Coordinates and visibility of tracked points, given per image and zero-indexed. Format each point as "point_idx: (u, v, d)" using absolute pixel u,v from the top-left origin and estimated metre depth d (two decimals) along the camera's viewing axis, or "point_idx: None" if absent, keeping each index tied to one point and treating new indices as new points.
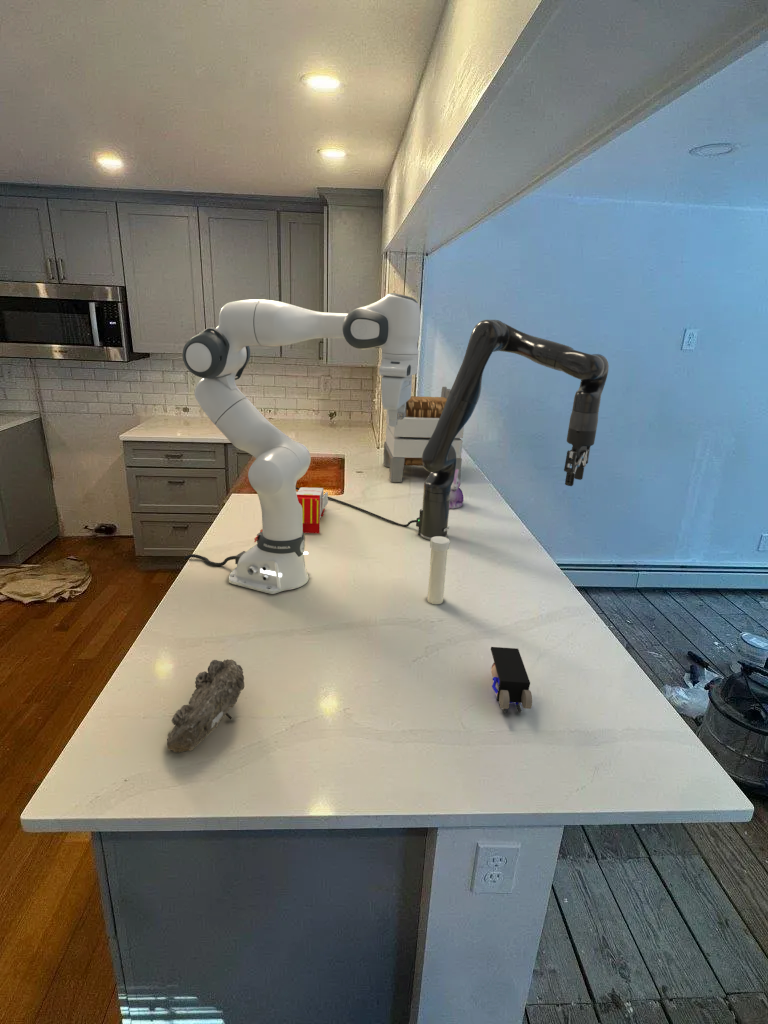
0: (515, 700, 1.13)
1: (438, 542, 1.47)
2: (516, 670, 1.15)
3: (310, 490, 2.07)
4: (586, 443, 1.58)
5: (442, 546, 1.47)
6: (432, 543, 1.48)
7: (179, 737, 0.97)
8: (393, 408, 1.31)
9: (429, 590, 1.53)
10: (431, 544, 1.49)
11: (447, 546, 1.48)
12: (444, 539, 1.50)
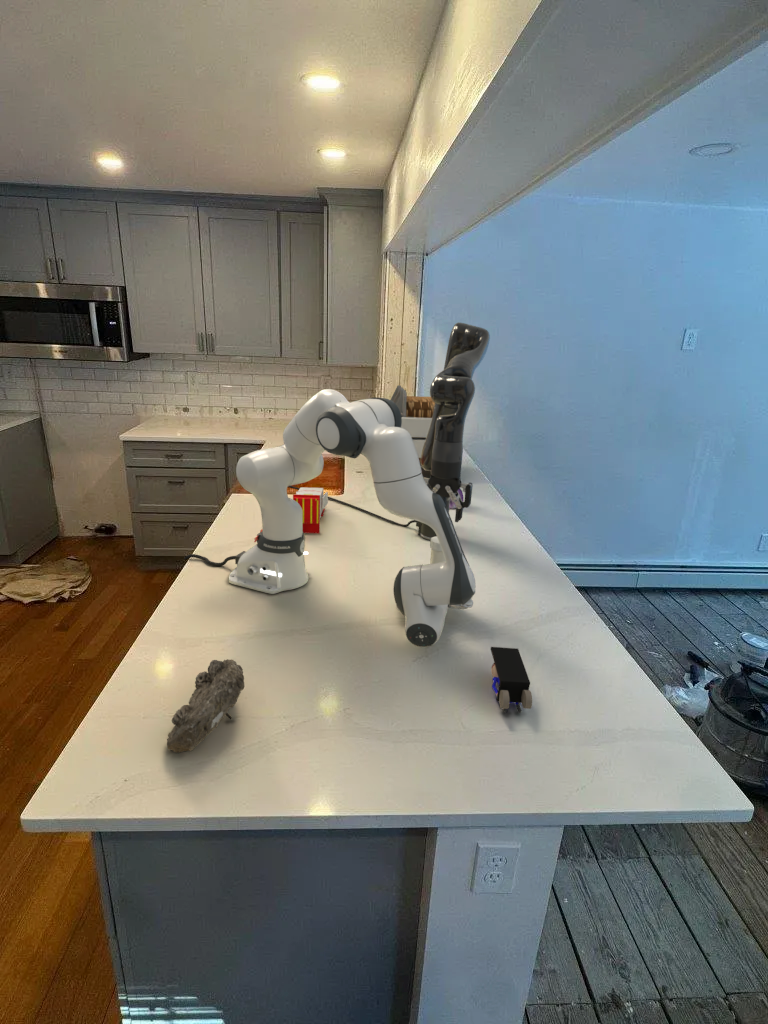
0: (515, 700, 1.13)
1: (438, 542, 1.47)
2: (516, 670, 1.15)
3: (310, 490, 2.07)
4: (432, 473, 1.41)
5: None
6: (432, 543, 1.48)
7: (179, 737, 0.97)
8: None
9: None
10: (431, 544, 1.49)
11: None
12: None
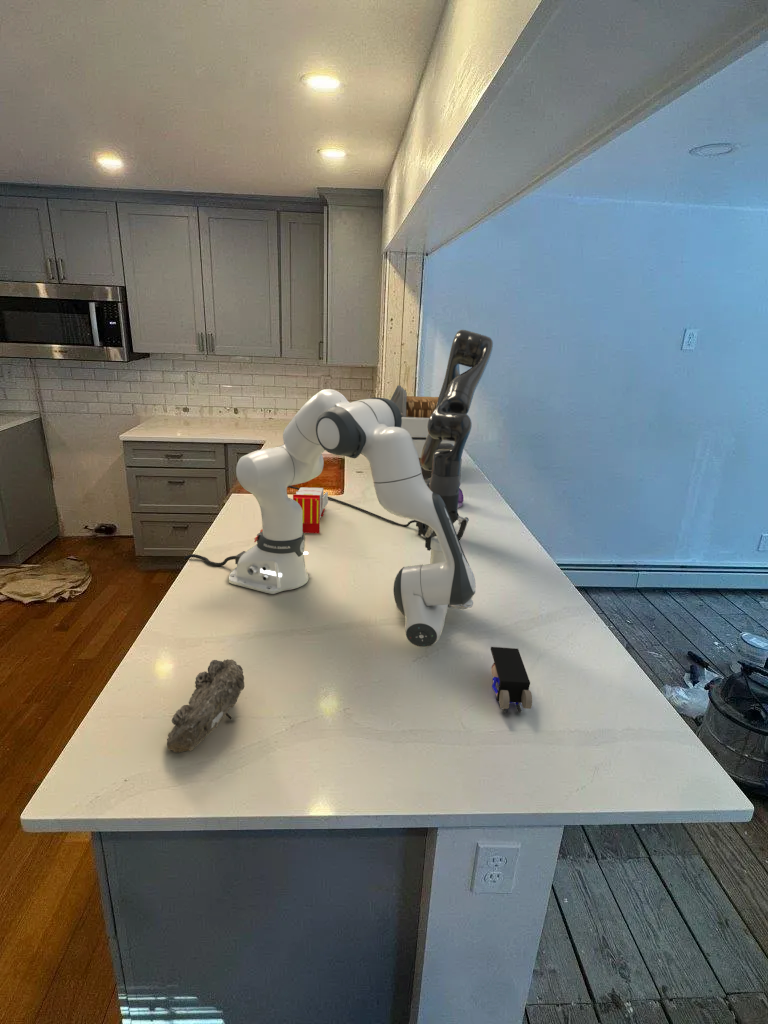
0: (515, 700, 1.13)
1: (438, 542, 1.47)
2: (516, 670, 1.15)
3: (310, 490, 2.07)
4: None
5: None
6: (432, 543, 1.48)
7: (179, 737, 0.97)
8: None
9: None
10: (431, 544, 1.49)
11: None
12: None
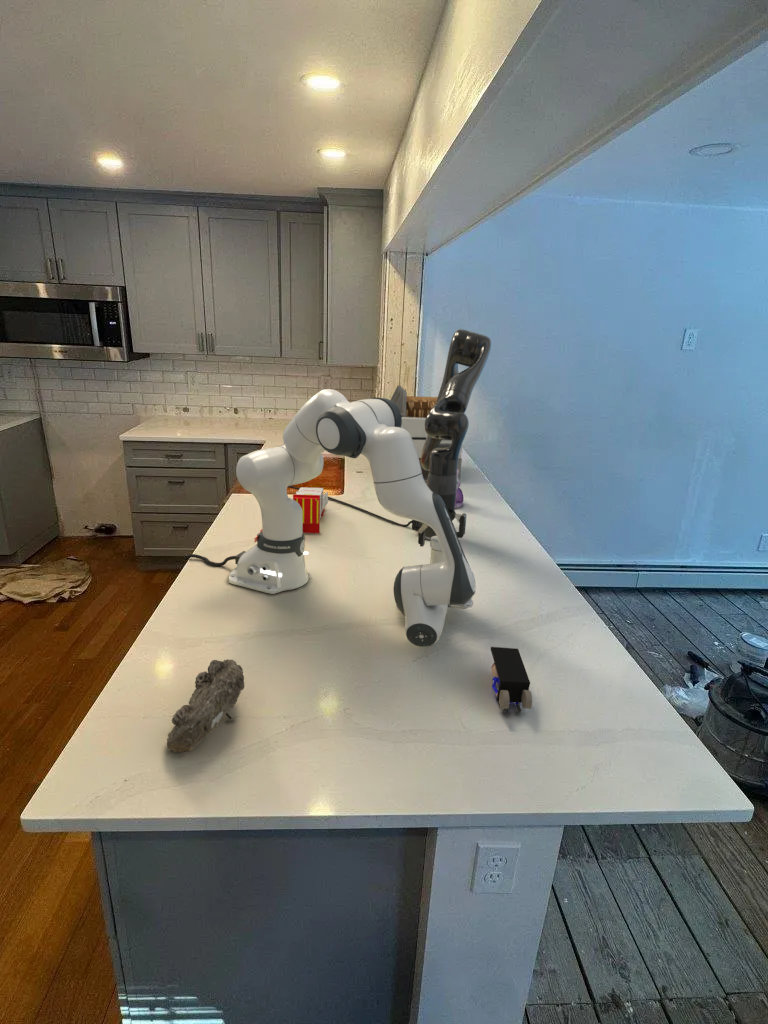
0: (515, 700, 1.13)
1: None
2: (516, 670, 1.15)
3: (310, 490, 2.07)
4: None
5: None
6: None
7: (179, 737, 0.97)
8: None
9: None
10: None
11: None
12: None
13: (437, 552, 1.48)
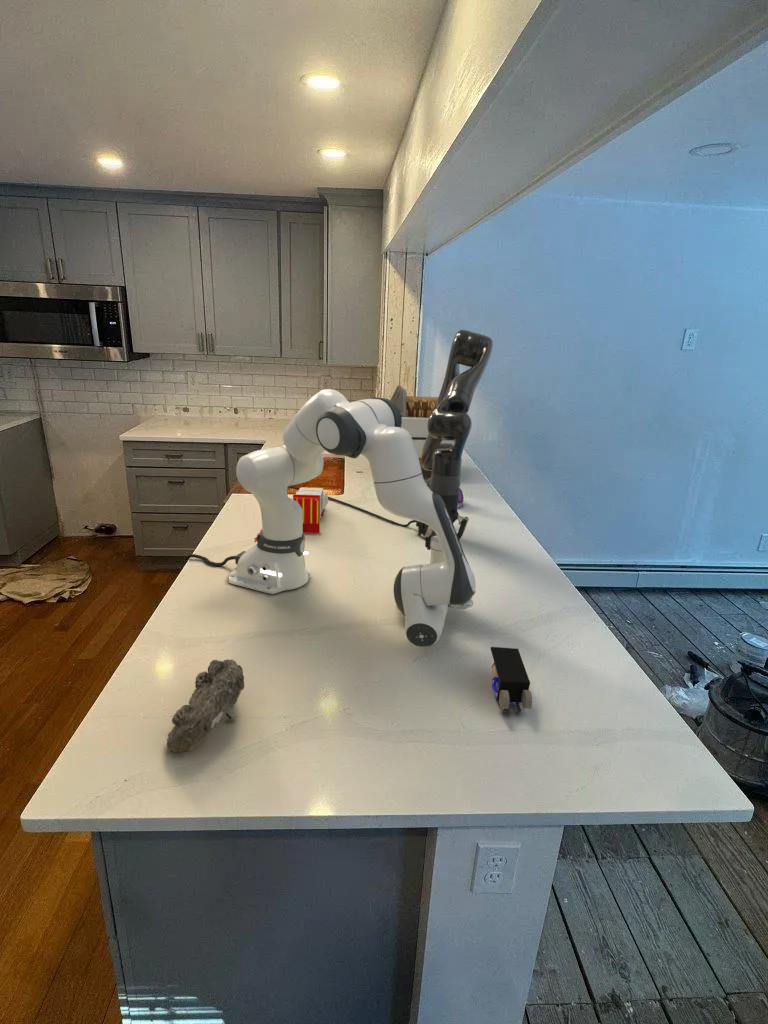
0: (515, 700, 1.13)
1: None
2: (516, 670, 1.15)
3: (310, 490, 2.07)
4: None
5: None
6: None
7: (179, 737, 0.97)
8: None
9: None
10: None
11: None
12: None
13: (437, 552, 1.48)
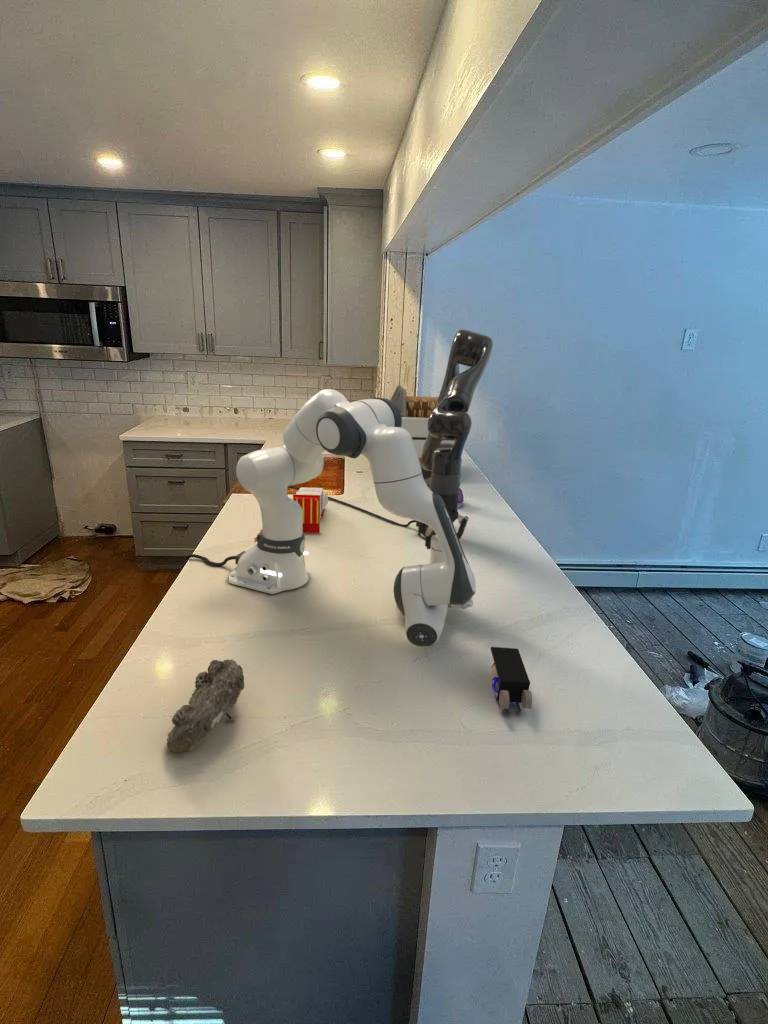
0: (515, 700, 1.13)
1: None
2: (516, 670, 1.15)
3: (310, 490, 2.07)
4: None
5: None
6: None
7: (179, 737, 0.97)
8: None
9: None
10: None
11: (430, 541, 1.50)
12: (437, 539, 1.48)
13: (437, 552, 1.48)
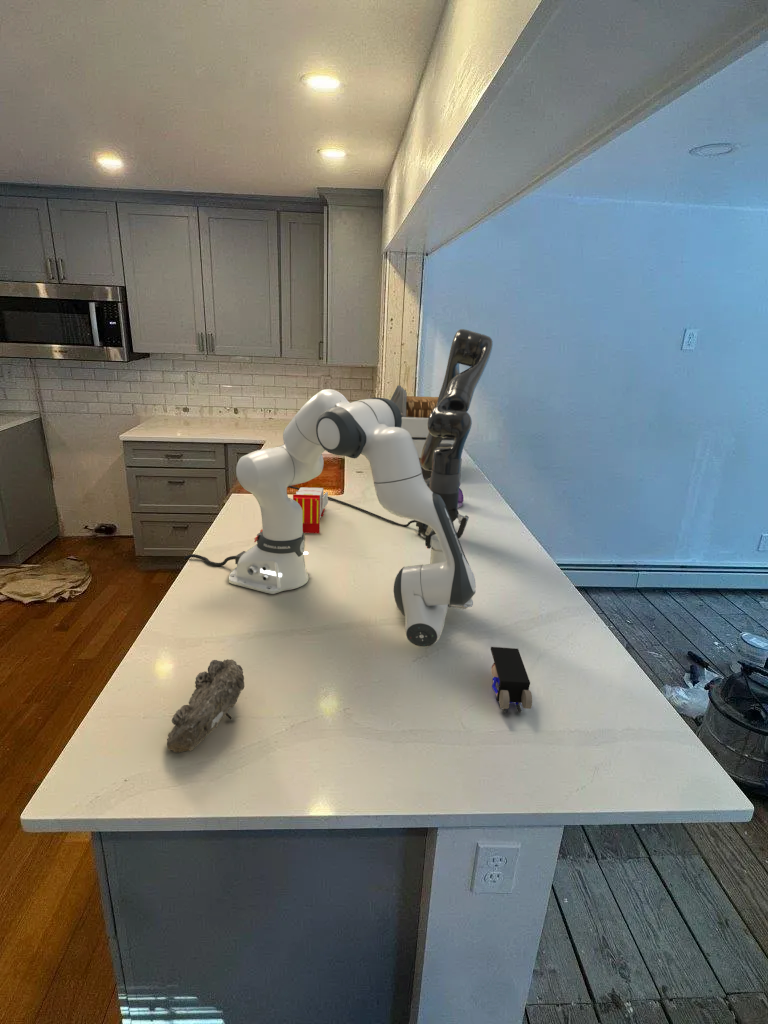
0: (515, 700, 1.13)
1: (434, 538, 1.48)
2: (516, 670, 1.15)
3: (310, 490, 2.07)
4: None
5: (435, 543, 1.47)
6: None
7: (179, 737, 0.97)
8: None
9: None
10: None
11: None
12: None
13: (437, 552, 1.48)
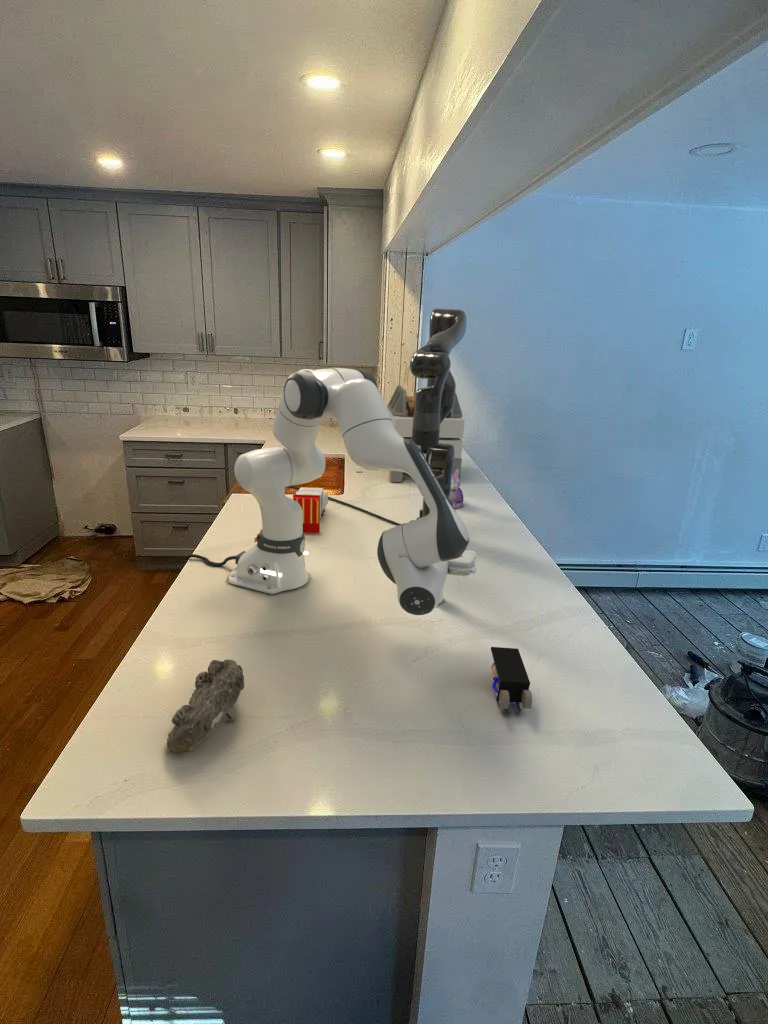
0: (515, 700, 1.13)
1: None
2: (516, 670, 1.15)
3: (310, 490, 2.07)
4: (434, 443, 1.54)
5: None
6: None
7: (179, 737, 0.97)
8: None
9: None
10: None
11: None
12: None
13: None
